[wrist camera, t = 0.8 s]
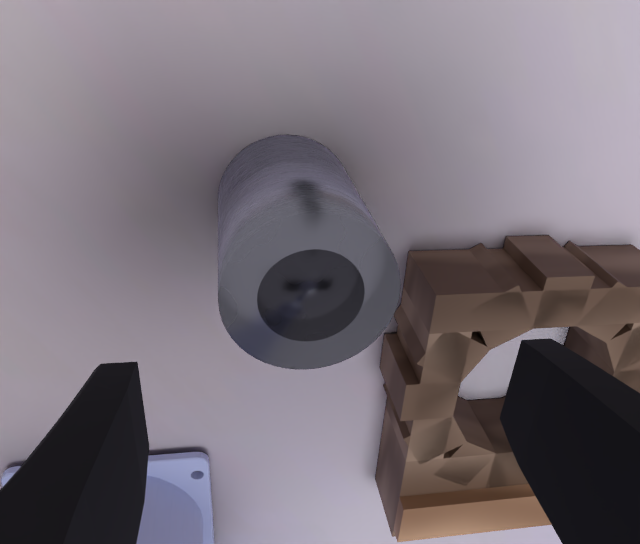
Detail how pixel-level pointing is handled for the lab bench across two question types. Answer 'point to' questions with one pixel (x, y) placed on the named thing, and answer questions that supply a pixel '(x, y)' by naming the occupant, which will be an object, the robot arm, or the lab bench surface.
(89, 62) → the lab bench surface
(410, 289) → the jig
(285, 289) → the bushing
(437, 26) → the lab bench surface
